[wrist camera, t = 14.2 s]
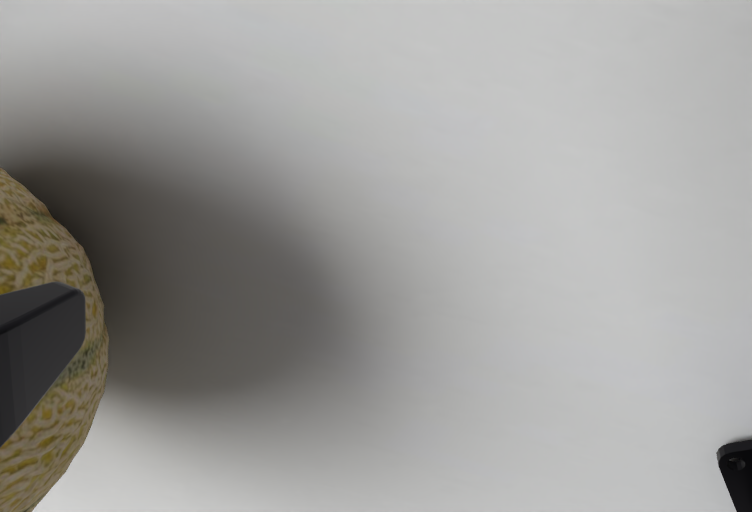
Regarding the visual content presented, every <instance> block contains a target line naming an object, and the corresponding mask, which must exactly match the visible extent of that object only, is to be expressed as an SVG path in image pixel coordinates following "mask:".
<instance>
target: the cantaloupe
mask: <svg viewBox="0 0 752 512" xmlns="http://www.w3.org/2000/svg"><path fill="white" fill-rule="evenodd" d="M50 282H62V283H65V284H68V285H70V286H73V287H75V288H78V289H80V290H81V291H83V293H84V295H85V300H86V335H85V340H84V342H83V345H82V346H81V348H80V350H79V351H78V352H77V354H76V355H75V356H74V358H73V359H72V360H71V362H70V363H69V364H68V365H67V367H66V368H65V369H64V371H63V372H62V373H61V374H60V376H59V377H58V378H57V380H56V381H55V382H54V383H53V385H52V386H51V387H50V389H49V390H48V391H47V392H46V394H45V395H44V396H43V398H42V399H41V400H40V401H39V403H38V404H37V405H36V407H35V408H34V409H33V410H32V412H31V413H30V414H29V416H28V417H27V418H26V419H25V421H24V422H23V423H22V424H21V425H20V427H19V428H18V429H17V430H16V431H15V432H14V434H13V435H12V436H11V437H10V438H9V439H8V440H7V441H6V442H5V443H4V444H3V446H2V447H1V448H0V512H32V510H33V509H34V508H35V507H36V505H37V504H38V503H39V502H40V501H41V500H42V499H43V497H44V496H45V495H46V494H47V493H48V492H49V490H50V489H51V488H52V487H53V486H54V485H55V483H56V482H57V481H58V480H59V479H60V478H61V477H62V475H63V474H64V473H65V472H66V470H67V469H68V467H69V465H70V463H71V462H72V460H73V458H74V457H75V455H76V454H77V452H78V451H79V450H80V448H81V447H82V445H83V444H84V441H85V439H86V437H87V435H88V432H89V430H90V428H91V425H92V422H93V419H94V416H95V413H96V411H97V408H98V405H99V403H100V400H101V398H102V396H103V393H104V390H105V383H106V376H107V370H108V346H109V337H108V331H107V328H106V325H105V321H104V311H103V310H104V304H103V302H102V299H101V296H100V292H99V289H98V287H97V284H96V282H95V279H94V276H93V271H92V267H91V264H90V261H89V259H88V257H87V255H86V254H85V251H84V248H83V247H82V246H81V245H80V244H79V243H78V242H77V241H76V240H75V239H74V238H73V237H72V235H71V234H70V233H69V232H68V230H67V229H66V228H65V227H63V226H62V225H61V224H60V223H58V222H57V221H56V220H55V219H53V218H52V216H51V214H50V213H49V211H48V209H47V207H46V206H45V204H43V203H42V202H41V201H40V200H38V199H37V198H36V197H35V196H34V195H32V194H31V193H30V192H29V190H28V189H27V188H26V187H25V186H24V185H22V184H21V183H19V182H18V181H16V180H15V179H13V178H12V177H11V176H10V175H9V174H8V173H7V172H6V171H5V170H3V169H2V168H0V294H5V293H9V292H13V291H17V290H21V289H25V288H29V287H33V286H37V285H42V284H46V283H50Z"/></svg>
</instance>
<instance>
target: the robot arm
mask: <svg viewBox="0 0 752 512" xmlns="http://www.w3.org/2000/svg"><path fill="white" fill-rule="evenodd" d="M85 335H86V300H85V295H84V293H83V291H81V290H80V289H78V288H75V287H73V286H70V285H68V284H65V283H62V282H50V283H46V284H42V285H37V286H33V287H29V288H25V289H21V290H17V291H13V292H9V293H5V294H0V448H1V447H2V446H3V444H4V443H5V442H6V441H7V440H8V439H9V438H10V437H11V436H12V435H13V434H14V432H15V431H16V430H17V429H18V428H19V427H20V425H21V424H22V423H23V422H24V421H25V419H26V418H27V417H28V416H29V414H30V413H31V412H32V410H33V409H34V408H35V407H36V405H37V404H38V403H39V401H40V400H41V399H42V398H43V396H44V395H45V394H46V392H47V391H48V390H49V389H50V387H51V386H52V385H53V383H54V382H55V381H56V380H57V378H58V377H59V376H60V374H61V373H62V372H63V371H64V369H65V368H66V367H67V365H68V364H69V363H70V362H71V360H72V359H73V358H74V356H75V355H76V354H77V352H78V351H79V350H80V348H81V346H82V345H83V342H84V340H85ZM732 458H739V459H741V460H739V461H730V459H732ZM717 460H718V465H719V468H720V471H721V473H722V476H723V478H724V481H725V483H726V486H727V488H728V491H729V493H730V496H731V498H732V501H733V503H734V506H735V508H736V511H737V512H752V440H748V441H742V442H735V443H729V444H726V445H723V446H722V447H720V448H719V449H718V451H717Z"/></svg>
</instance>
